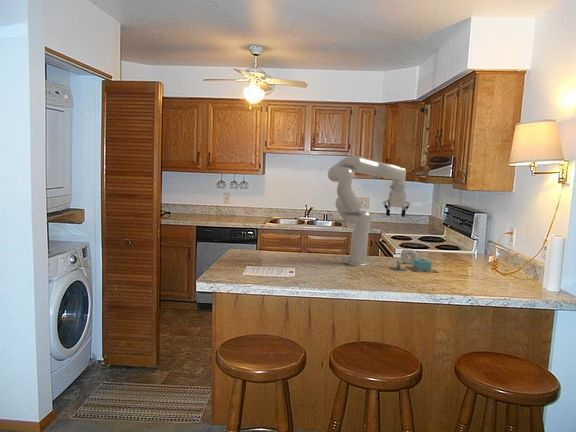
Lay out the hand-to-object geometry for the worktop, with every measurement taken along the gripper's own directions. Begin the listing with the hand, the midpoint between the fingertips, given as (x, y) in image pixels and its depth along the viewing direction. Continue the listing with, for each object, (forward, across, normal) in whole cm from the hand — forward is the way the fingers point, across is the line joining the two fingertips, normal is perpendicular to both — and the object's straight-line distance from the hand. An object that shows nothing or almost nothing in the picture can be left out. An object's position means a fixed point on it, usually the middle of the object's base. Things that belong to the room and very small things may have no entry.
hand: (395, 216), depth 266 cm
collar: (+27, +8, -24) cm, 37 cm away
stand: (+28, -6, -24) cm, 38 cm away
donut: (+28, +8, -7) cm, 30 cm away
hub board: (+28, +8, -24) cm, 38 cm away
